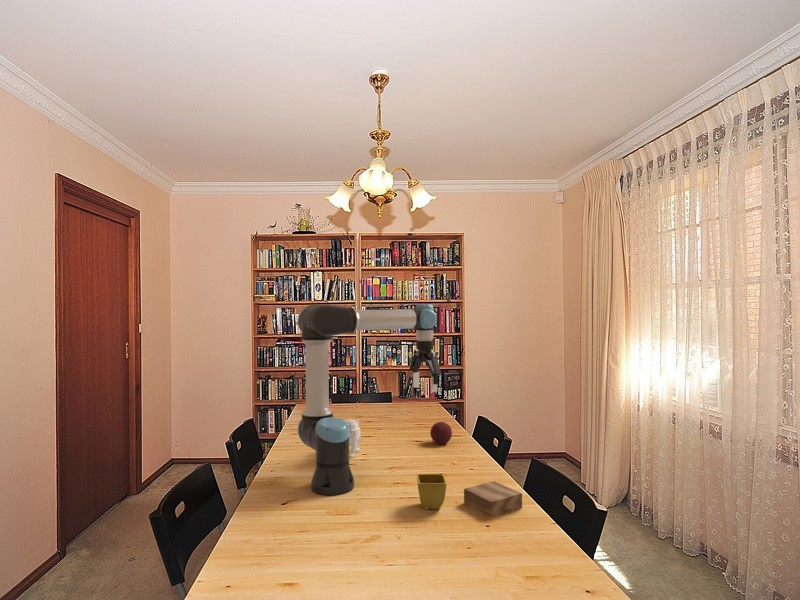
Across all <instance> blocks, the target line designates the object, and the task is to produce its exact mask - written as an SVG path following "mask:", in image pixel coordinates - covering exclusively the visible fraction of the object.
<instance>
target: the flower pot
mask: <svg viewBox="0 0 800 600" xmlns="http://www.w3.org/2000/svg"><path fill="white" fill-rule="evenodd" d="M416 480H417V489H418V495H419V501H420V504H421V506H422V509H424V510H440V509H441V507H442V506H443V504H444V501H445V499H446V498H445V497H446V490H447V485H448V484H447V481H446V477H445V475H444V474H443V473H417V474H416Z"/></svg>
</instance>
